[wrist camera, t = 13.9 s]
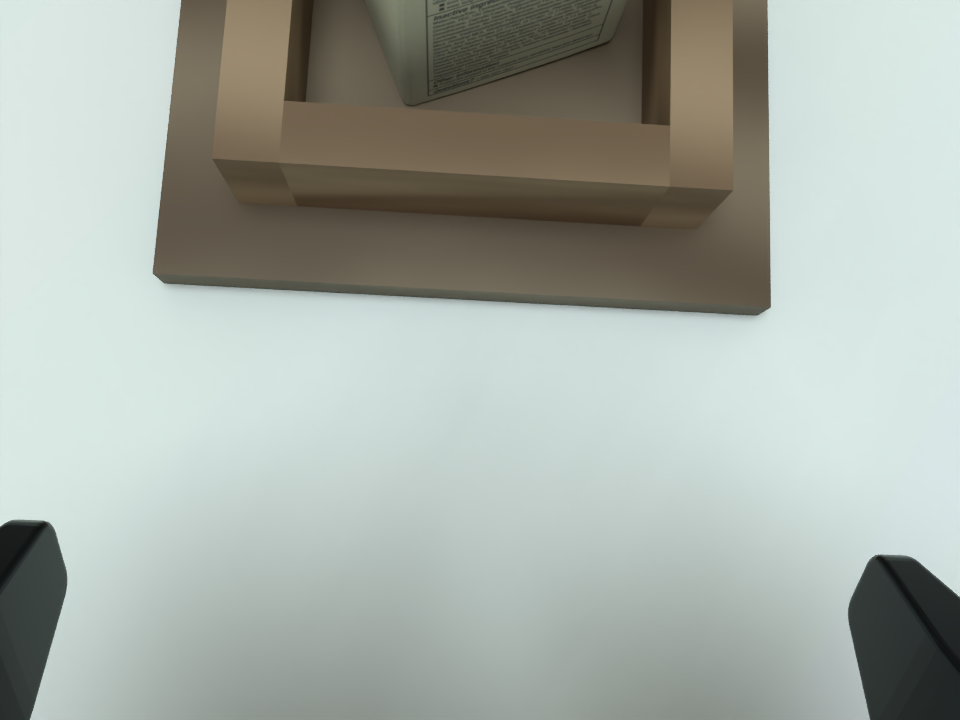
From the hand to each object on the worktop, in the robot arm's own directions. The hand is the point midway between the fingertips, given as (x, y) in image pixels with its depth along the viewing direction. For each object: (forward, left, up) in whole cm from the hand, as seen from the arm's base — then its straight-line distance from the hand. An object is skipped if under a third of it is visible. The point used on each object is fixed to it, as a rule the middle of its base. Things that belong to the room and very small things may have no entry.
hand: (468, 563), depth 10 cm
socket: (+11, -9, -14) cm, 20 cm away
